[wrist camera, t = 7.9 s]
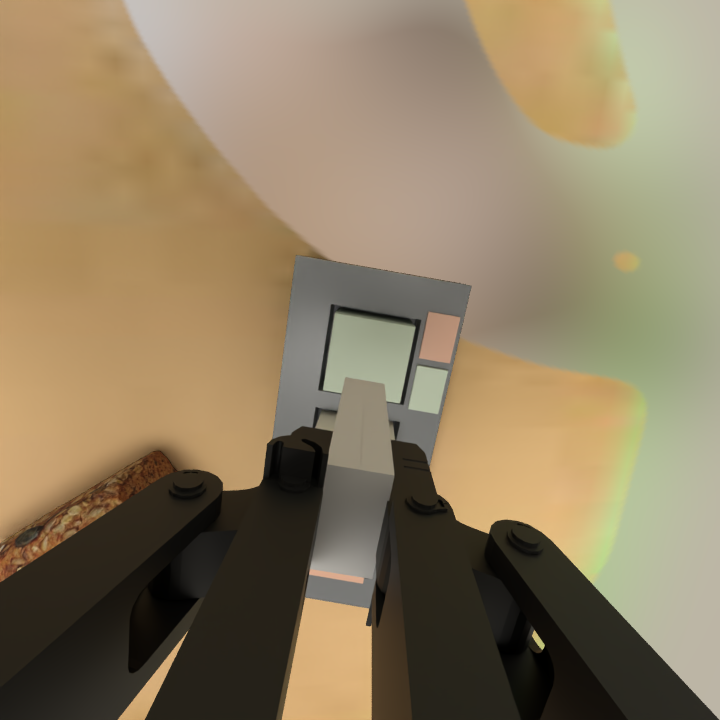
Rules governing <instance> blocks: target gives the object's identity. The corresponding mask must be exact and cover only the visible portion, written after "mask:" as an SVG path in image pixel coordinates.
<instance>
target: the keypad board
mask: <svg viewBox="0 0 720 720" xmlns="http://www.w3.org/2000/svg"><path fill="white" fill-rule="evenodd" d="M470 291H471V286H470V285H466V284H461V283H455V282H450V281H444V280H438V279H433V278H427V277H421V276H415V275H410V274H404V273H398V272H393V271H387V270H381V269H376V268H370V267H364V266H358V265H352V264H347V263H341V262H336V261H330V260H324V259H319V258H313V257H307V256H300V255H296V258H295V265H294V273H293V281H292V289H291V297H290V305H289V313H288V321H287V328H286V336H285V344H284V352H283V360H282V368H281V376H280V384H279V391H278V399H277V407H276V415H275V423H274V431H273V439H274V438H277V437H280V436H286V435H291V433H292V432H293V431H295V430H296V429H298V428H300V427H301V426H306V427H312V428H315V427H316V424H317V422H318V419H319V416H320V413H321V411H322V410H328V411H334V412H338V408H339V403H340V399H341V394H342V393H336V392H330V391H325V390H323V387H324V380H325V374H326V367H327V361H328V354H329V348H330V341H331V335H332V329H333V322H334V316H335V312H336V311H337V310H338V309H339V308H340V307H341V308H347V309H352V310H358V311H364V312H369V313H375V314H381V315H387V316H392V317H398V318H404V319H410V320H411V321H412V323H413V324H414V326H415V327H416V328H415V332H414V337H413V342H412V347H411V352H410V357H409V362H408V366H407V371H406V376H405V381H404V386H403V391H402V396H401V401H400V403H394V402H388V401H386V402H387V411H388V420H389V421H391V422H393V428H394V436H395V440H396V441H402V442H408V443H414V444H417V445H418V446H419V447H420V448H421V449H422V450H423V451H424V452H425V454H426V457H427V461H428V464H429V466H430V462H431V458H432V453H433V449H434V445H435V440H436V436H437V432H438V428H439V423H440V419H441V415H442V410H443V406H444V402H445V398H446V393H447V389H448V385H449V381H450V376H451V372H452V368H453V363H454V359H455V355H456V351H457V346H458V342H459V338H460V333H461V329H462V325H463V321H464V316H465V312H466V308H467V304H468V299H469V295H470ZM375 581H376V565H375V570H374V574H373V579H368V578H364V581H363V584H361V583H355V582H350V581H344V580H338V579H332V578H326V577H320V576H315V575H309V578H308V584H307V590H306V595H305V597H306V598H311V599H317V600H323V601H329V602H335V603H341V604H346V605H352V606H358V607H364V608H370V604H371V599H372V595H373V590H374V585H375Z"/></svg>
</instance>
